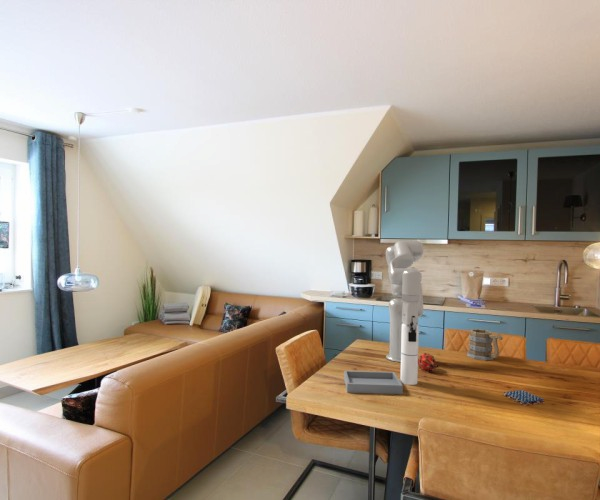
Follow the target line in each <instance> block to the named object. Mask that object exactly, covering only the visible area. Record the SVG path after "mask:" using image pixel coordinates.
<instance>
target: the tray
mask: <svg viewBox="0 0 600 500" xmlns="http://www.w3.org/2000/svg"><path fill="white" fill-rule="evenodd" d="M343 380H344V385H345V388H346V393H350V394H351V393H352V394H353V393H354V394H355V393H356V394H357V393H358V394H382V395H383V394H384V395H386V394H387V395H389V394H390V395H403V391H404V390H403V388H404V387H403V386H404V385H403V383H401V382H400V378H398V375H396V373H395V372H394V371H373V370H372V371H371V370H369V371H367V370H365V371H364V370H343Z"/></svg>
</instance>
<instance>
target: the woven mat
mask: <svg viewBox="0 0 600 500" xmlns="http://www.w3.org/2000/svg"><path fill="white" fill-rule="evenodd" d="M503 397H507V398H508V399H510V400H512V401H513V402H516V403H519V404H521V405H523V406H531V405H532V406H533V405H537V404H538V405H540V404H545V400H544V398H541V397H539V396H537V395H535V394H532V393H530V392H528V391H526V390H522V389H520V390H518V389H517V390H513V391H512V390H510V391H509V390H508V391H507V392H506V391H503Z"/></svg>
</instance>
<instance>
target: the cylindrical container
mask: <svg viewBox="0 0 600 500" xmlns="http://www.w3.org/2000/svg"><path fill="white" fill-rule="evenodd" d="M410 325H413V324H410ZM411 328H412V327H411ZM419 328H420V325H419V324H418V325H417V327H416V342H409V341H408V332H409V325H408V326H406V325H405V324H404V323H403V324H402V333H401V362H400V378H399V381H400V382H401V384H402V385H403V384H404V385H406V386H407V385H408V386H414V385H418V374H419V373H418V371H419V370H418V369H419V366H418V364H419V362H418V358H419V332H420V331H419Z"/></svg>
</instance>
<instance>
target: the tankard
mask: <svg viewBox="0 0 600 500" xmlns="http://www.w3.org/2000/svg"><path fill="white" fill-rule="evenodd" d="M492 334H493V333H492V331H491V330H487V329H482V328H479V329H478V328H474V329H470V333H469V335H468V340H469V343H468V349H469V350H467V356H466V357H468V358H471V359H473V360H479V361H484V360H486V361H493V360H494V359H497V358H498V357H499V354H500V348H499V344H498V340H499V341H502V340H503V339H504V337H503V336H502V335H501V334H500V333H498V334H495V335H494V334H493V335H492ZM493 349H494V350H493ZM493 351H494V352H493ZM492 352H493V353H492Z"/></svg>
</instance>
